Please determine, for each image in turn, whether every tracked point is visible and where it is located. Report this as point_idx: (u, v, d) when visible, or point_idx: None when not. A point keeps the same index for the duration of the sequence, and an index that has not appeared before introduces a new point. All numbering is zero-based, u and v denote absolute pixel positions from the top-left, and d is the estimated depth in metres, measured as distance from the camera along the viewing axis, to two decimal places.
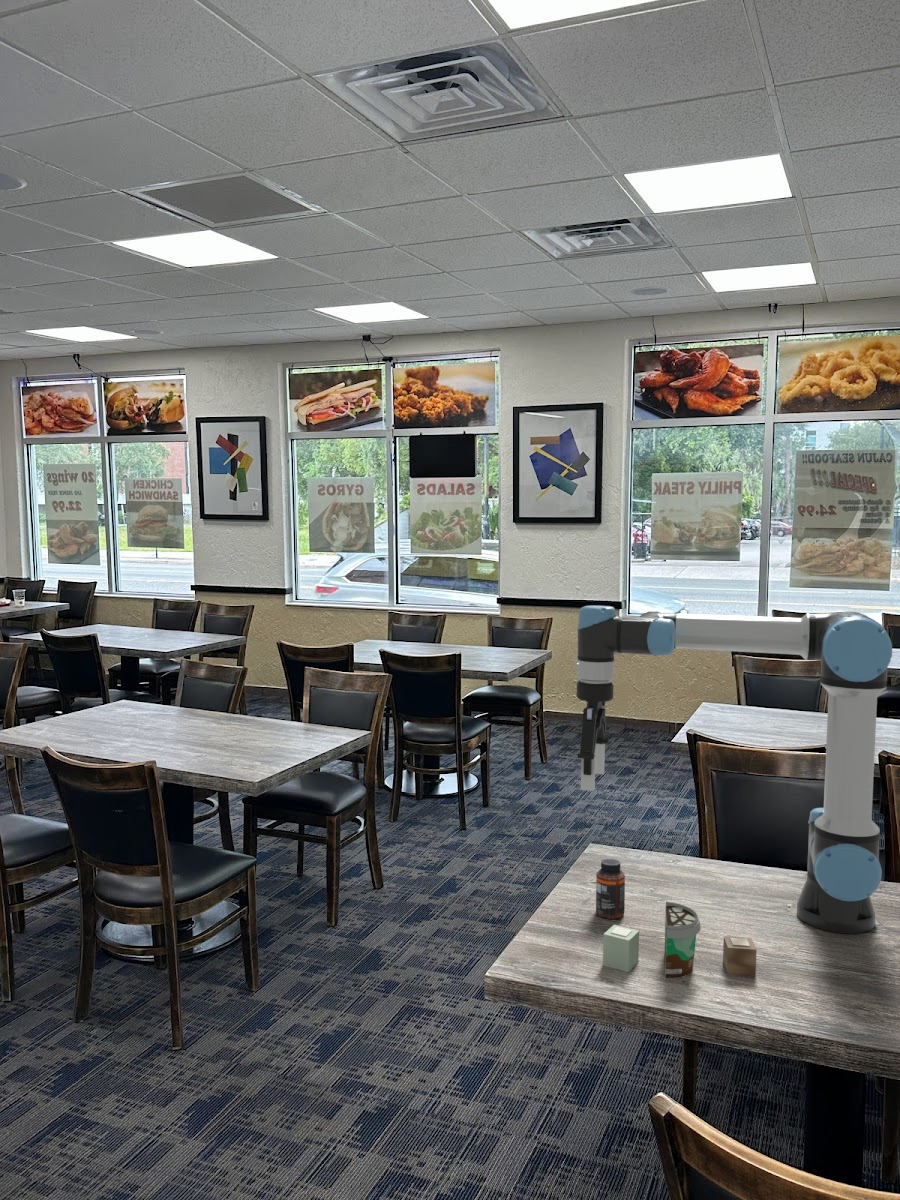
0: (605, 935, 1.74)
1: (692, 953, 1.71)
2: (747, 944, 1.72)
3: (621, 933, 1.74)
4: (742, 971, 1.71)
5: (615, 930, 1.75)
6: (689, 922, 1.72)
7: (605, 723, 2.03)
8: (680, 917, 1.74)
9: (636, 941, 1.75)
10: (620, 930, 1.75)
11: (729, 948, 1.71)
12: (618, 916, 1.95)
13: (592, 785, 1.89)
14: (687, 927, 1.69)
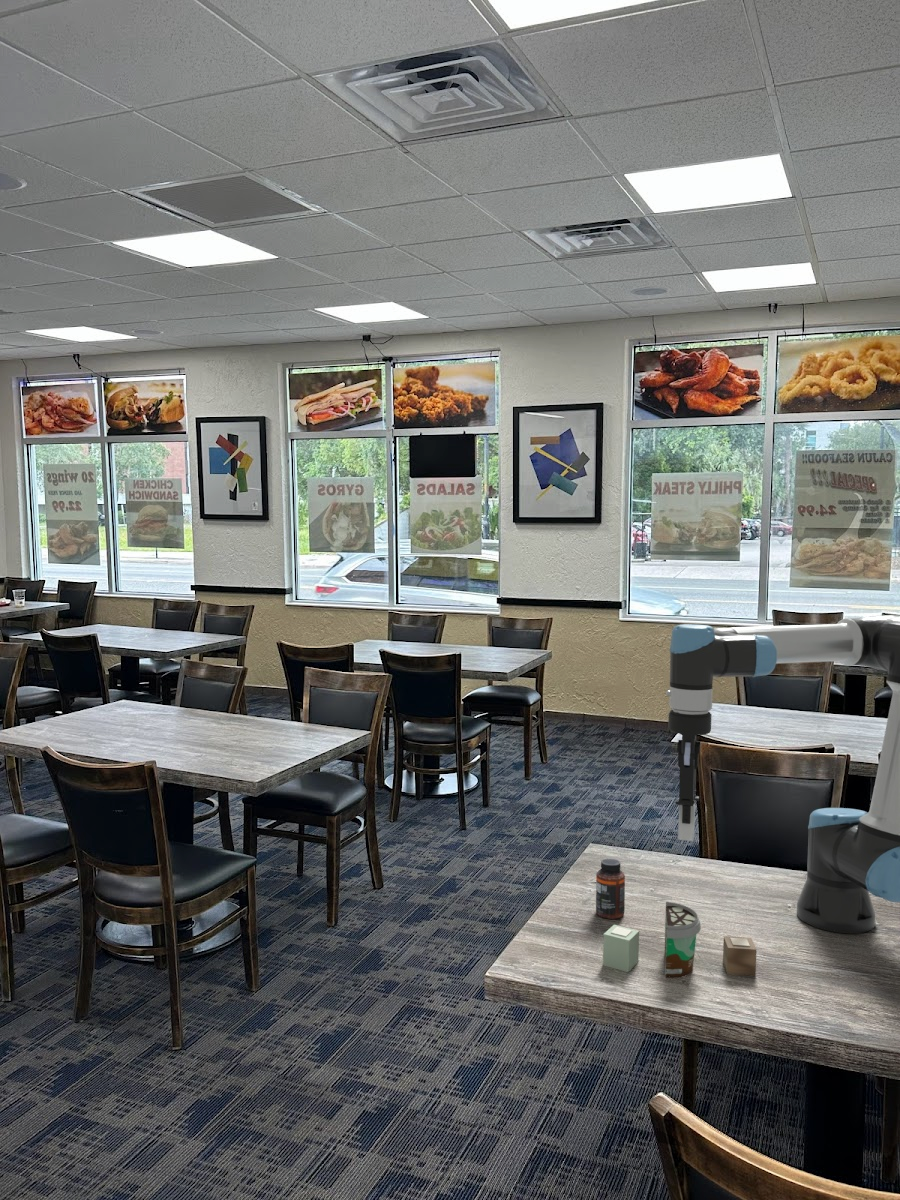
0: (605, 935, 1.74)
1: (692, 953, 1.71)
2: (747, 944, 1.72)
3: (621, 933, 1.74)
4: (742, 971, 1.71)
5: (615, 930, 1.75)
6: (689, 922, 1.72)
7: None
8: (680, 917, 1.74)
9: (636, 941, 1.75)
10: (620, 930, 1.75)
11: (729, 948, 1.71)
12: (618, 916, 1.95)
13: (691, 835, 1.70)
14: (687, 927, 1.69)
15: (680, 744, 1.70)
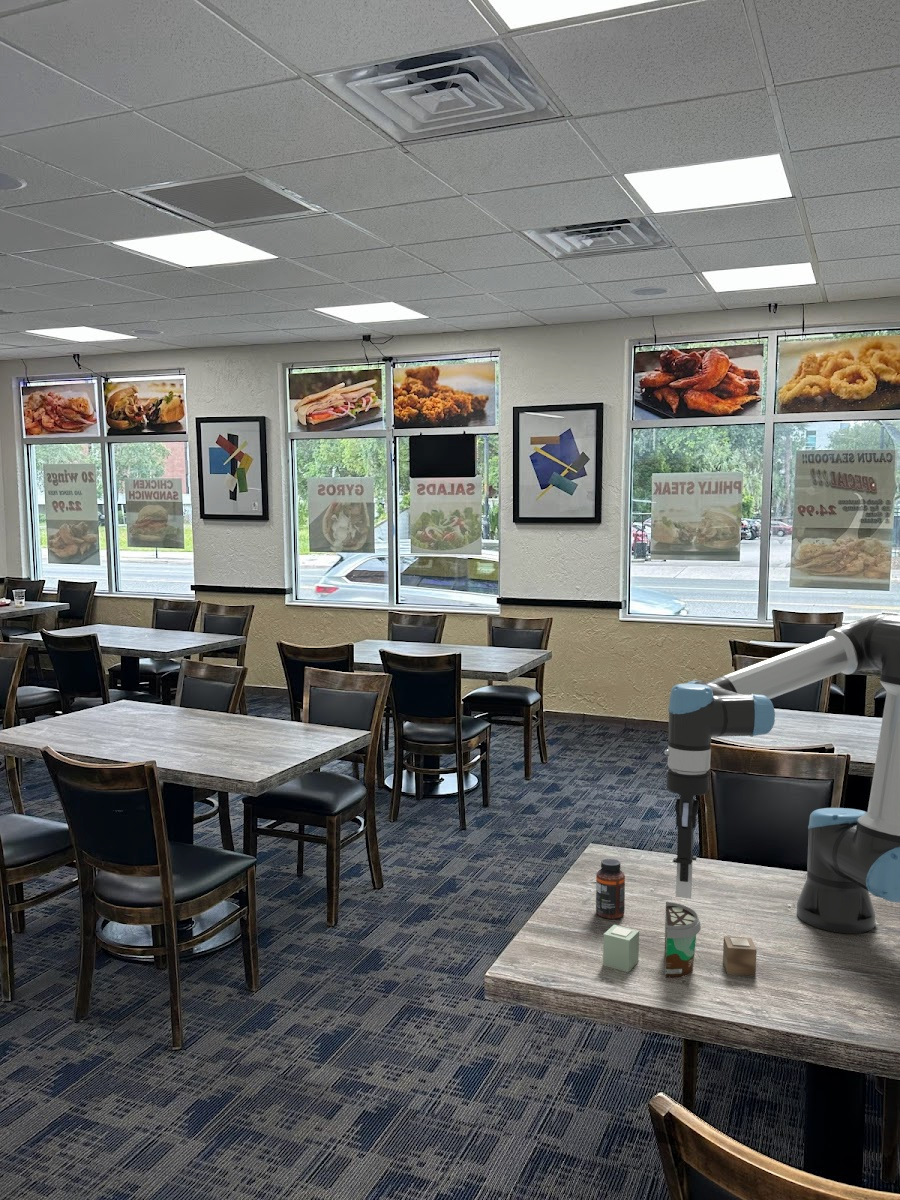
0: (605, 935, 1.74)
1: (692, 953, 1.71)
2: (747, 944, 1.72)
3: (621, 933, 1.74)
4: (742, 971, 1.71)
5: (615, 930, 1.75)
6: (689, 922, 1.72)
7: (693, 833, 1.76)
8: (680, 917, 1.74)
9: (636, 941, 1.75)
10: (620, 930, 1.75)
11: (729, 948, 1.71)
12: (618, 916, 1.95)
13: (689, 892, 1.72)
14: (687, 927, 1.69)
15: (678, 804, 1.70)
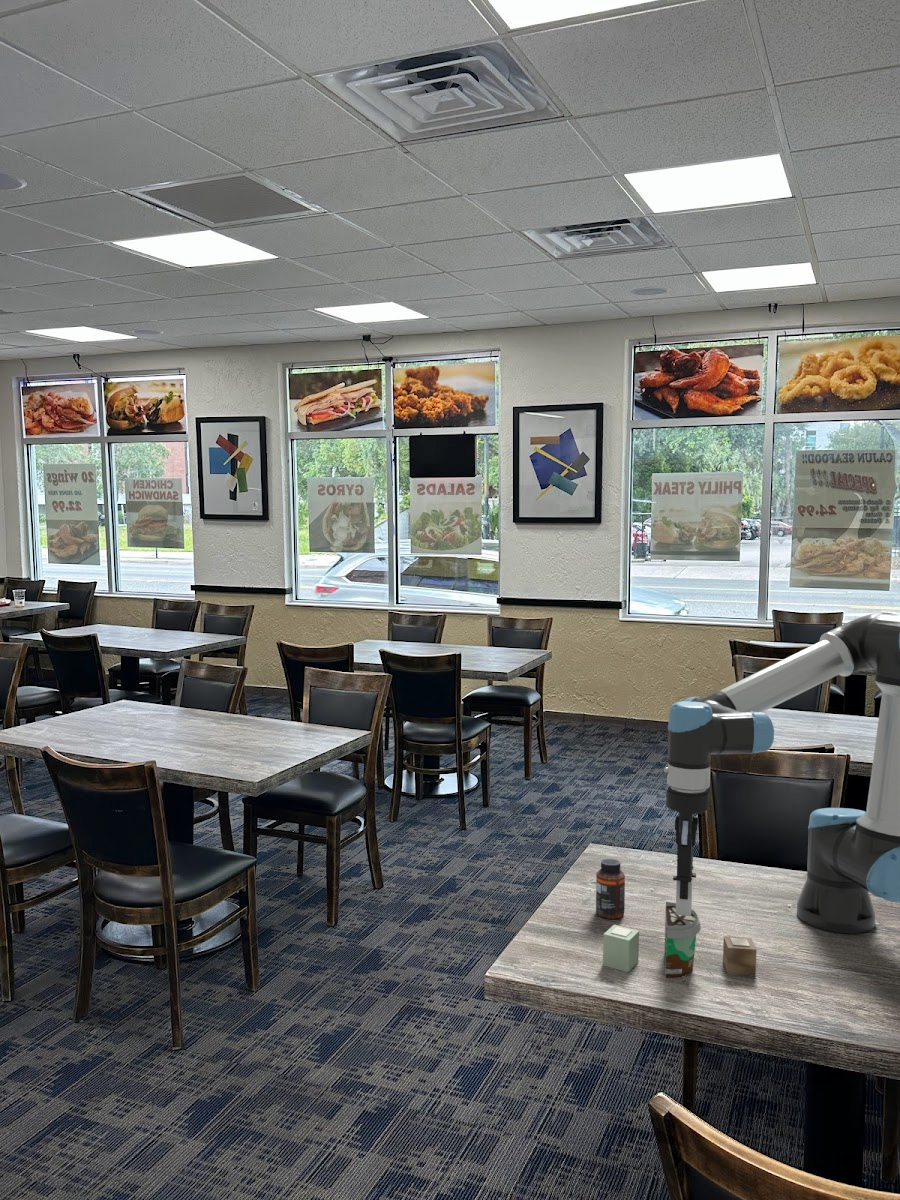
0: (605, 935, 1.74)
1: (692, 953, 1.71)
2: (747, 944, 1.72)
3: (621, 933, 1.74)
4: (742, 971, 1.71)
5: (615, 930, 1.75)
6: (689, 922, 1.72)
7: None
8: (680, 917, 1.74)
9: (636, 941, 1.75)
10: (620, 930, 1.75)
11: (729, 948, 1.71)
12: (618, 916, 1.95)
13: (689, 910, 1.72)
14: (687, 927, 1.69)
15: (678, 821, 1.71)
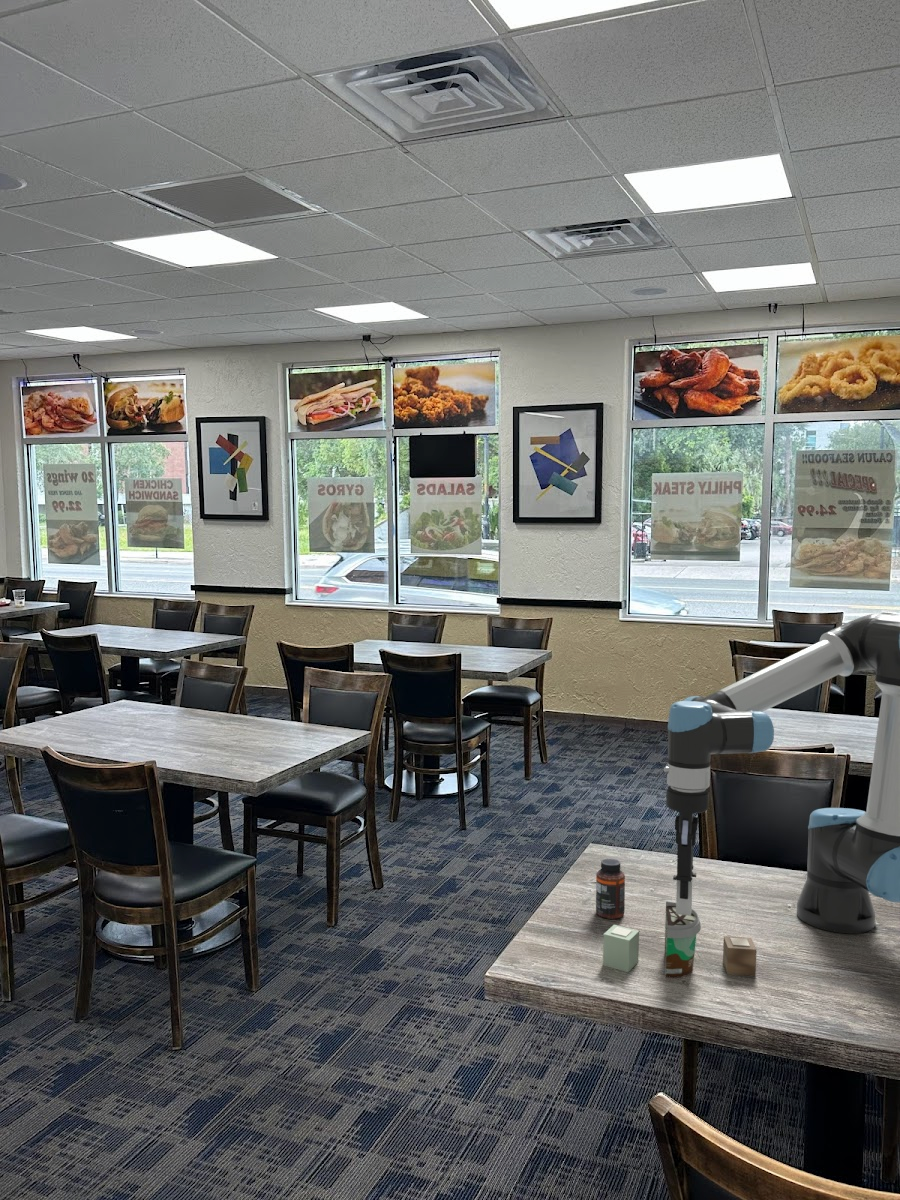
0: (605, 935, 1.74)
1: (692, 953, 1.71)
2: (747, 944, 1.72)
3: (621, 933, 1.74)
4: (742, 971, 1.71)
5: (615, 930, 1.75)
6: (689, 922, 1.72)
7: None
8: (680, 917, 1.74)
9: (636, 941, 1.75)
10: (620, 930, 1.75)
11: (729, 948, 1.71)
12: (618, 916, 1.95)
13: (689, 909, 1.72)
14: (687, 927, 1.69)
15: (678, 821, 1.71)
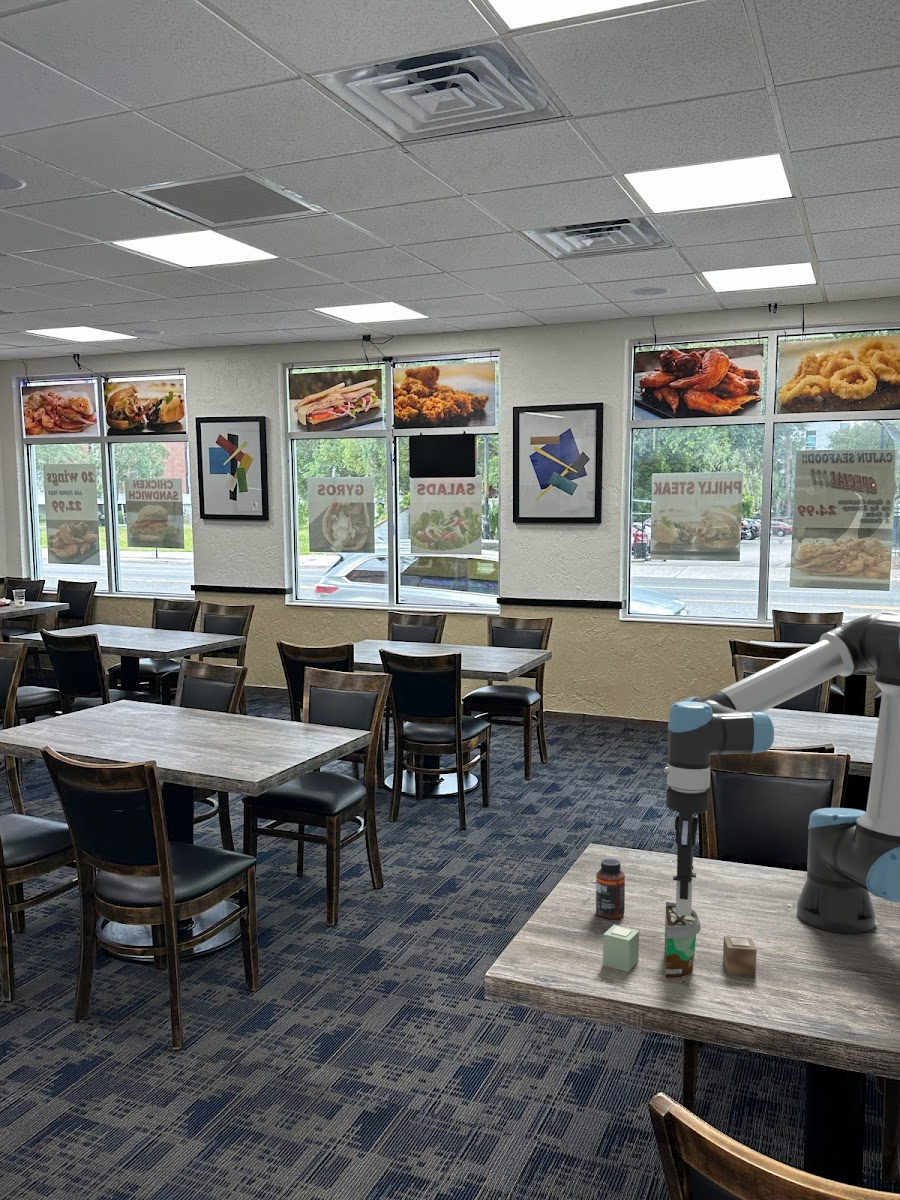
0: (605, 935, 1.74)
1: (692, 953, 1.71)
2: (747, 944, 1.72)
3: (621, 933, 1.74)
4: (742, 971, 1.71)
5: (615, 930, 1.75)
6: (689, 922, 1.72)
7: None
8: (680, 917, 1.74)
9: (636, 941, 1.75)
10: (620, 930, 1.75)
11: (729, 948, 1.71)
12: (618, 916, 1.95)
13: (689, 910, 1.72)
14: (687, 927, 1.69)
15: (678, 821, 1.71)
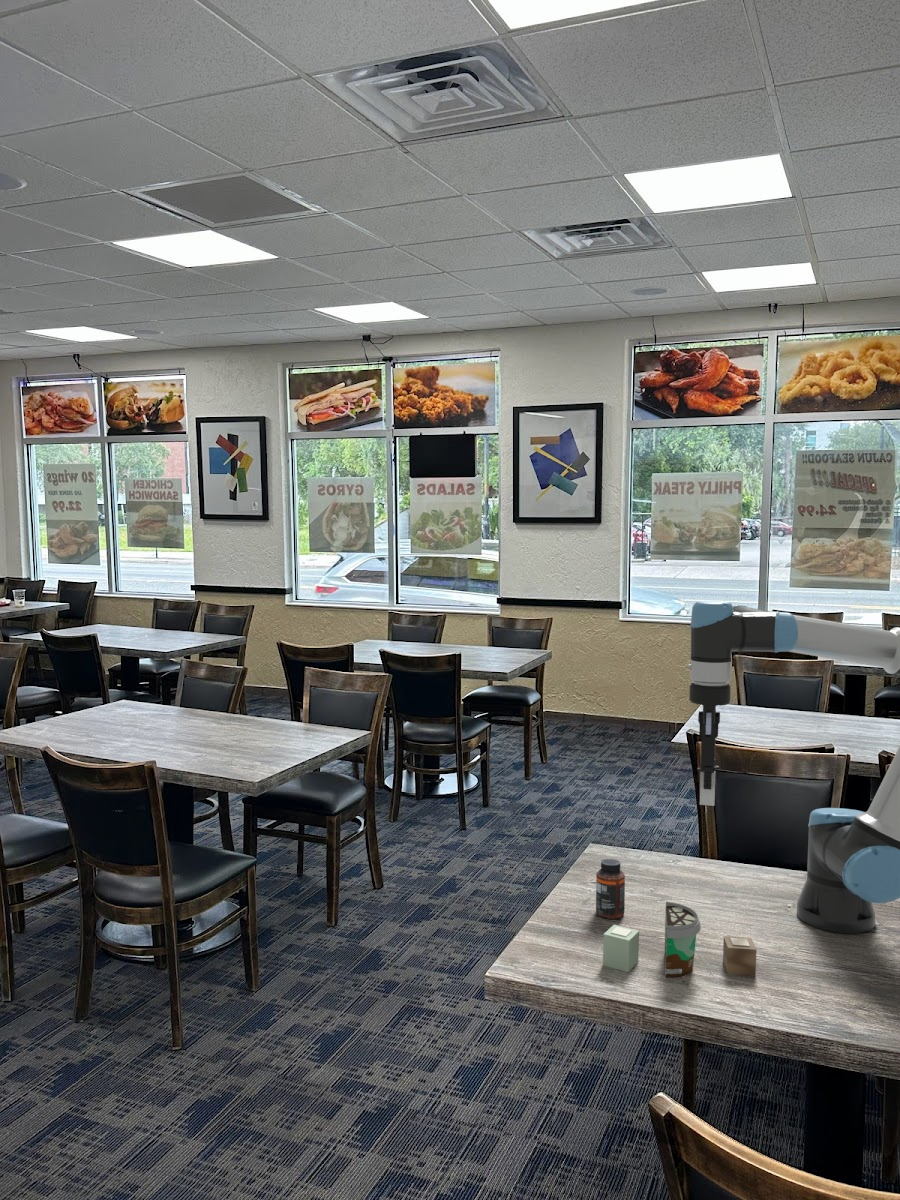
0: (605, 935, 1.74)
1: (692, 953, 1.71)
2: (747, 944, 1.72)
3: (621, 933, 1.74)
4: (742, 971, 1.71)
5: (615, 930, 1.75)
6: (689, 922, 1.72)
7: None
8: (680, 917, 1.74)
9: (636, 941, 1.75)
10: (620, 930, 1.75)
11: (729, 948, 1.71)
12: (618, 916, 1.95)
13: (712, 800, 1.80)
14: (687, 927, 1.69)
15: (701, 715, 1.78)
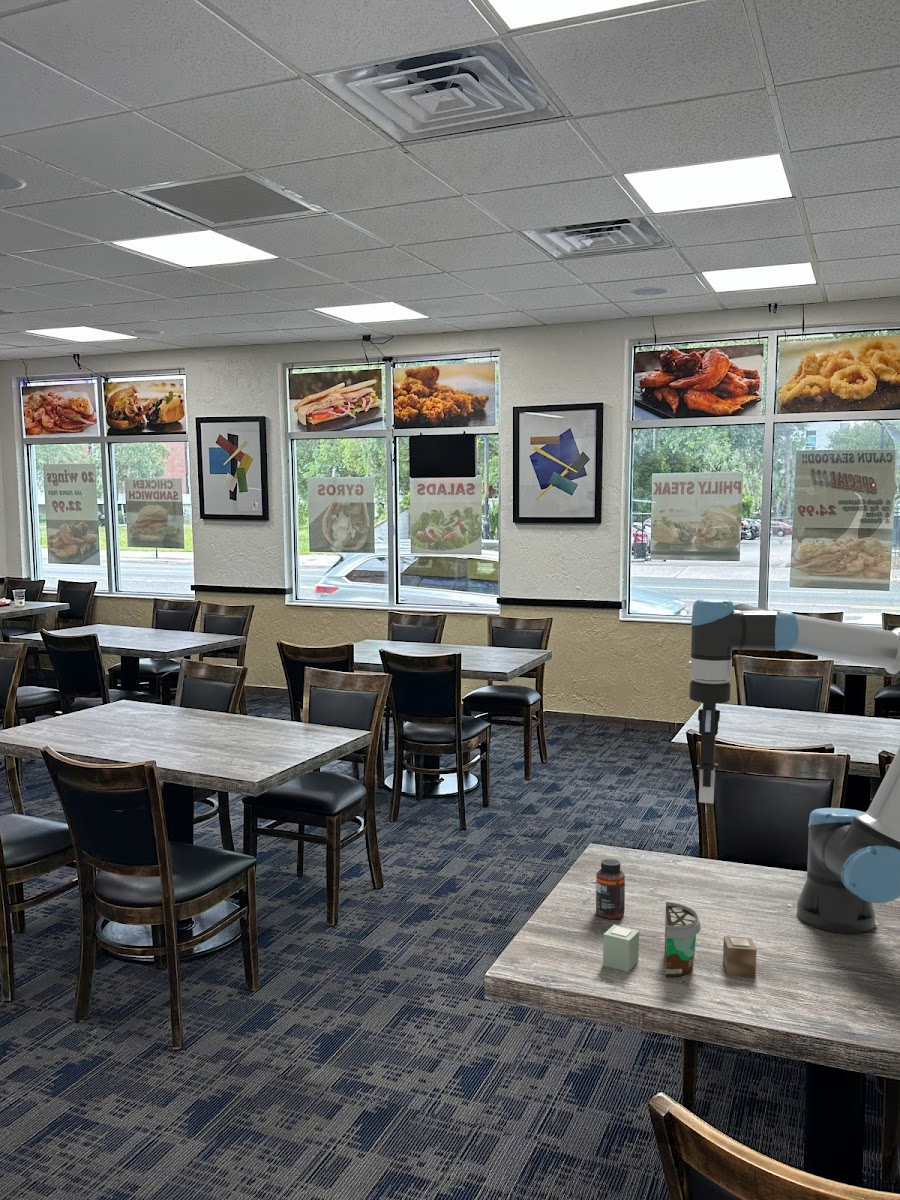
0: (605, 935, 1.74)
1: (692, 953, 1.71)
2: (747, 944, 1.72)
3: (621, 933, 1.74)
4: (742, 971, 1.71)
5: (615, 930, 1.75)
6: (689, 922, 1.72)
7: None
8: (680, 917, 1.74)
9: (636, 941, 1.75)
10: (620, 930, 1.75)
11: (729, 948, 1.71)
12: (618, 916, 1.95)
13: (711, 797, 1.80)
14: (687, 927, 1.69)
15: (701, 712, 1.79)
